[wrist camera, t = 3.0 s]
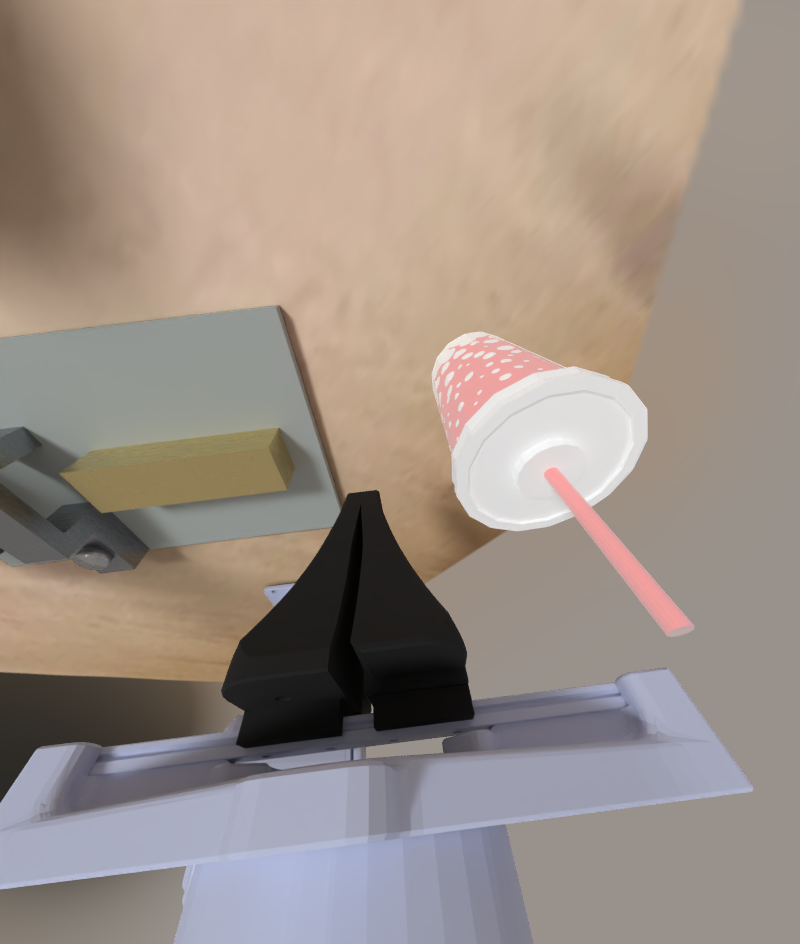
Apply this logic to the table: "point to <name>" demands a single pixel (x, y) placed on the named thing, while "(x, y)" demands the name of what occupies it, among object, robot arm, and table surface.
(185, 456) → the link bar
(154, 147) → the table surface
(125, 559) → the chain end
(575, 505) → the beverage cup
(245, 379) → the mat
